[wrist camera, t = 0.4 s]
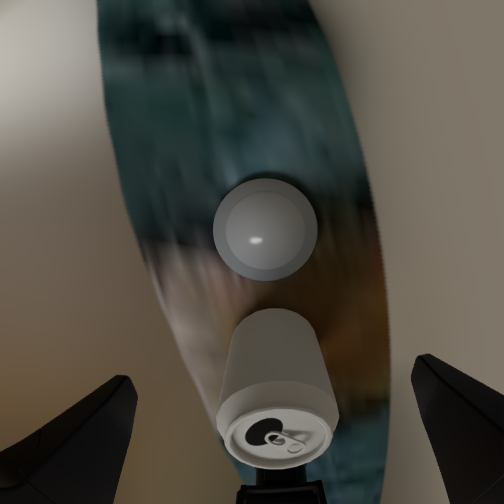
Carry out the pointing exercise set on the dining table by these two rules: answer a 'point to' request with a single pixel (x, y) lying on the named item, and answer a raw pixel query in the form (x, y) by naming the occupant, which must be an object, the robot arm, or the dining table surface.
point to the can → (276, 392)
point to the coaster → (265, 229)
